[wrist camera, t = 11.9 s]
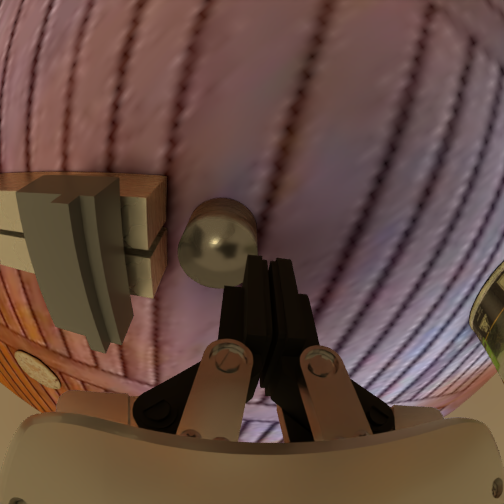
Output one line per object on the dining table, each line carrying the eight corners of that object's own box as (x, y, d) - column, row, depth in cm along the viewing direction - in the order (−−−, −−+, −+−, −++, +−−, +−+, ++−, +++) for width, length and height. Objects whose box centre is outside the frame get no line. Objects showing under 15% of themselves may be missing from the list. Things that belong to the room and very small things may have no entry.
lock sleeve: (119, 177, 9) (83, 205, 7) (133, 315, 13) (117, 356, 11) (44, 174, 9) (4, 199, 7) (71, 301, 13) (49, 336, 10)
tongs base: (262, 203, 14) (264, 231, 11) (248, 276, 16) (248, 313, 13) (-54, 185, 11) (-75, 199, 9) (-44, 228, 14) (-63, 244, 11)
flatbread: (62, 391, 28) (60, 397, 27) (21, 366, 26) (18, 371, 25) (60, 369, 24) (57, 375, 23) (12, 338, 22) (9, 344, 21)
